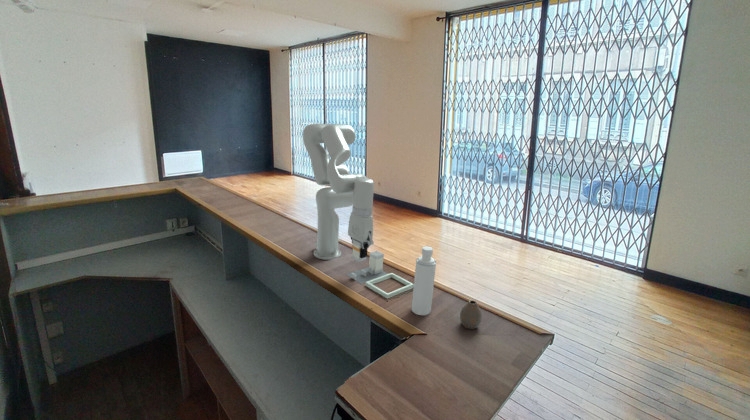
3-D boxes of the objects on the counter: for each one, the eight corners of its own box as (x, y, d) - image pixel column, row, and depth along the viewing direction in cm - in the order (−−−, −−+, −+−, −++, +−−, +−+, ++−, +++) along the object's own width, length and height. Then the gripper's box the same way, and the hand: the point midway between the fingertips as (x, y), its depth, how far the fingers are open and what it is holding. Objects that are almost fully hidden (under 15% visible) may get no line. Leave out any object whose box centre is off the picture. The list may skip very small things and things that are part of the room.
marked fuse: (351, 258, 148) (352, 239, 145) (359, 255, 150) (361, 237, 148) (358, 262, 145) (359, 242, 143) (366, 259, 148) (367, 240, 145)
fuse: (368, 270, 156) (369, 252, 153) (375, 268, 158) (377, 250, 156) (375, 274, 153) (376, 256, 150) (382, 271, 155) (383, 254, 153)
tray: (365, 289, 143) (365, 282, 143) (391, 279, 153) (391, 272, 152) (386, 302, 135) (387, 294, 134) (413, 291, 144) (413, 284, 143)
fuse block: (345, 277, 151) (345, 269, 150) (372, 268, 161) (373, 261, 160) (360, 287, 144) (361, 279, 143) (388, 277, 154) (389, 269, 153)
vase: (456, 327, 123) (459, 303, 120) (462, 317, 128) (465, 294, 126) (476, 334, 119) (480, 310, 117) (482, 324, 125) (486, 300, 123)
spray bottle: (434, 313, 130) (442, 246, 123) (417, 317, 127) (424, 248, 120) (424, 304, 135) (431, 239, 128) (408, 307, 133) (414, 241, 126)
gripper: (340, 206, 145) (339, 250, 151) (369, 218, 134) (366, 265, 139) (355, 203, 150) (353, 246, 156) (384, 215, 138) (380, 260, 144)
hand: (359, 254), depth 147 cm, fingers closed on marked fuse, 4 cm apart
